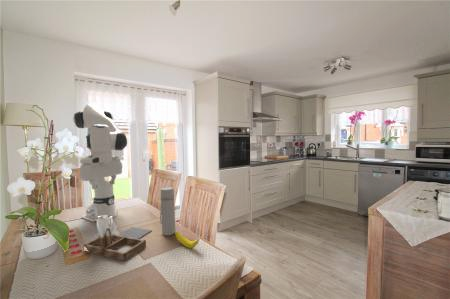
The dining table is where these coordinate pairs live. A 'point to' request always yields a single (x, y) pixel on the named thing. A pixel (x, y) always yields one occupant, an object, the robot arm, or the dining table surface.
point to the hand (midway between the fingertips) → (103, 186)
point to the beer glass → (105, 230)
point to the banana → (186, 241)
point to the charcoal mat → (135, 232)
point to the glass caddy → (110, 249)
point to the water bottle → (167, 211)
